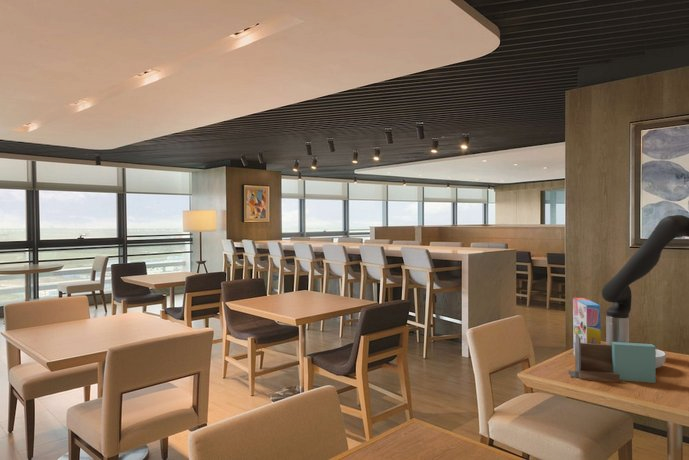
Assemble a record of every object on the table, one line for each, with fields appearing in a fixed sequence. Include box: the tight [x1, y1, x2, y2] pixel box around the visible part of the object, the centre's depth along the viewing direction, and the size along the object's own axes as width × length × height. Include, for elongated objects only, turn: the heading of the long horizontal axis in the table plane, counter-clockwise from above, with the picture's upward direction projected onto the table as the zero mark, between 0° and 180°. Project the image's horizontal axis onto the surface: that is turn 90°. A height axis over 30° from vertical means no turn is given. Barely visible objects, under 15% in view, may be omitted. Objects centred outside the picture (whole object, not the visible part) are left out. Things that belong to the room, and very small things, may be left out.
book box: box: [612, 342, 657, 384], centre depth 181 cm, size 4×14×14 cm, turn 73°
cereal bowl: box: [656, 348, 667, 369], centre depth 196 cm, size 17×17×7 cm
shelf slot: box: [574, 343, 621, 383], centre depth 185 cm, size 10×14×12 cm
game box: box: [572, 297, 602, 357], centre depth 204 cm, size 21×6×27 cm, turn 168°
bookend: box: [567, 334, 581, 379], centre depth 187 cm, size 7×4×16 cm, turn 163°
